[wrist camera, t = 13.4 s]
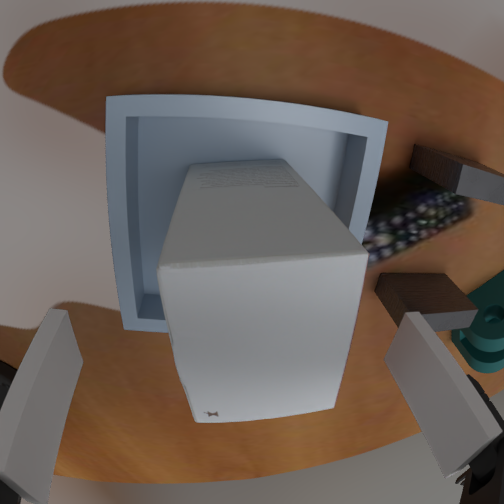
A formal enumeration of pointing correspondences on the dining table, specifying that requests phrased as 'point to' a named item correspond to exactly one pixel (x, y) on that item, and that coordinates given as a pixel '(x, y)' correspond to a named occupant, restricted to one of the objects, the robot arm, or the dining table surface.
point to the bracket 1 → (440, 285)
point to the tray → (213, 151)
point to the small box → (258, 292)
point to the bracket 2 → (484, 328)
